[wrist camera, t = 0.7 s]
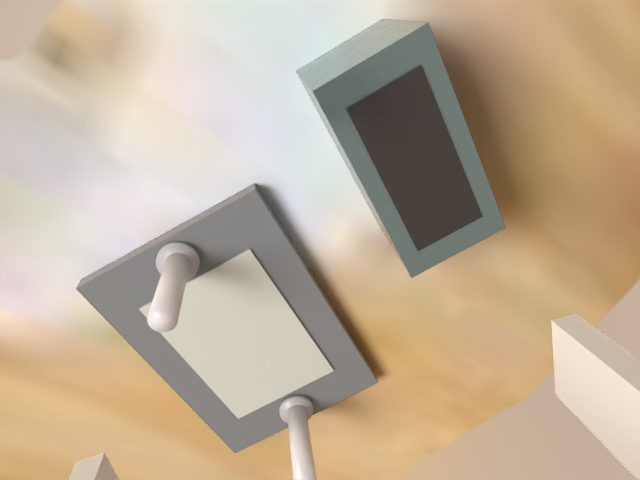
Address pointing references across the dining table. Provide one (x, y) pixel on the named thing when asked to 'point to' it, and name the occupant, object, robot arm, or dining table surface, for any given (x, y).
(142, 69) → the dining table surface
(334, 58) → the block
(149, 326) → the grey flat pegged piece
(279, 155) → the dining table surface
